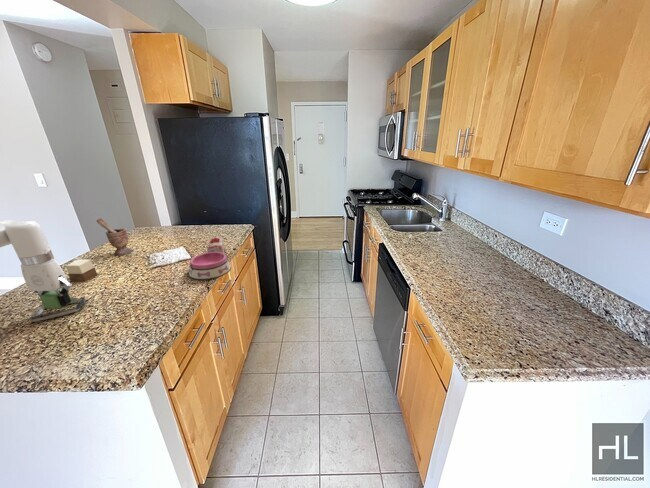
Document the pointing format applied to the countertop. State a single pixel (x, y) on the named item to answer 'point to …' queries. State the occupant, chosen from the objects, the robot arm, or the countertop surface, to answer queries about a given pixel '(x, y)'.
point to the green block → (51, 300)
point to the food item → (216, 245)
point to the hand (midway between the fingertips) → (58, 303)
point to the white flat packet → (169, 256)
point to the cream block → (79, 266)
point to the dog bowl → (209, 266)
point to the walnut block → (83, 276)
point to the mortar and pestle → (116, 238)
